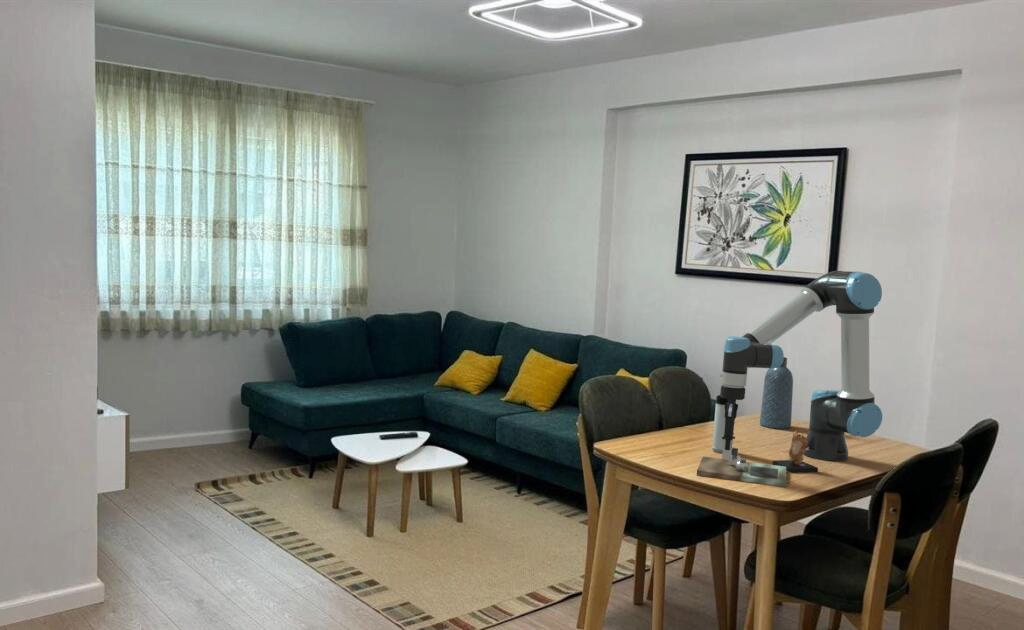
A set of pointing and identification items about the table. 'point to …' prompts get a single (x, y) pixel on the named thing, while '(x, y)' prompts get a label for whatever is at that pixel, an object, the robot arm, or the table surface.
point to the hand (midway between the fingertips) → (726, 459)
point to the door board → (743, 472)
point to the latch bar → (738, 461)
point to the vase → (777, 398)
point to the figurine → (796, 456)
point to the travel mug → (719, 424)
